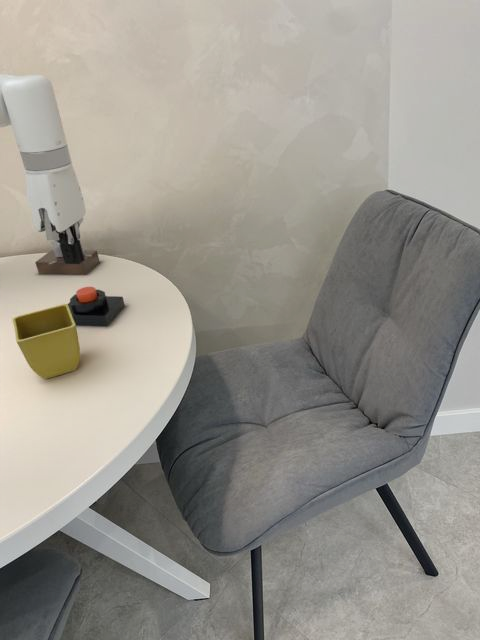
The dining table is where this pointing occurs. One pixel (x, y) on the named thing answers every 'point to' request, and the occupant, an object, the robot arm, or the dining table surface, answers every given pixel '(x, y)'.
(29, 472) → the dining table surface
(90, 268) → the base
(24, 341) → the flower pot
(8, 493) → the dining table surface
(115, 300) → the button block
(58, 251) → the tap lever
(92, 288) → the button
